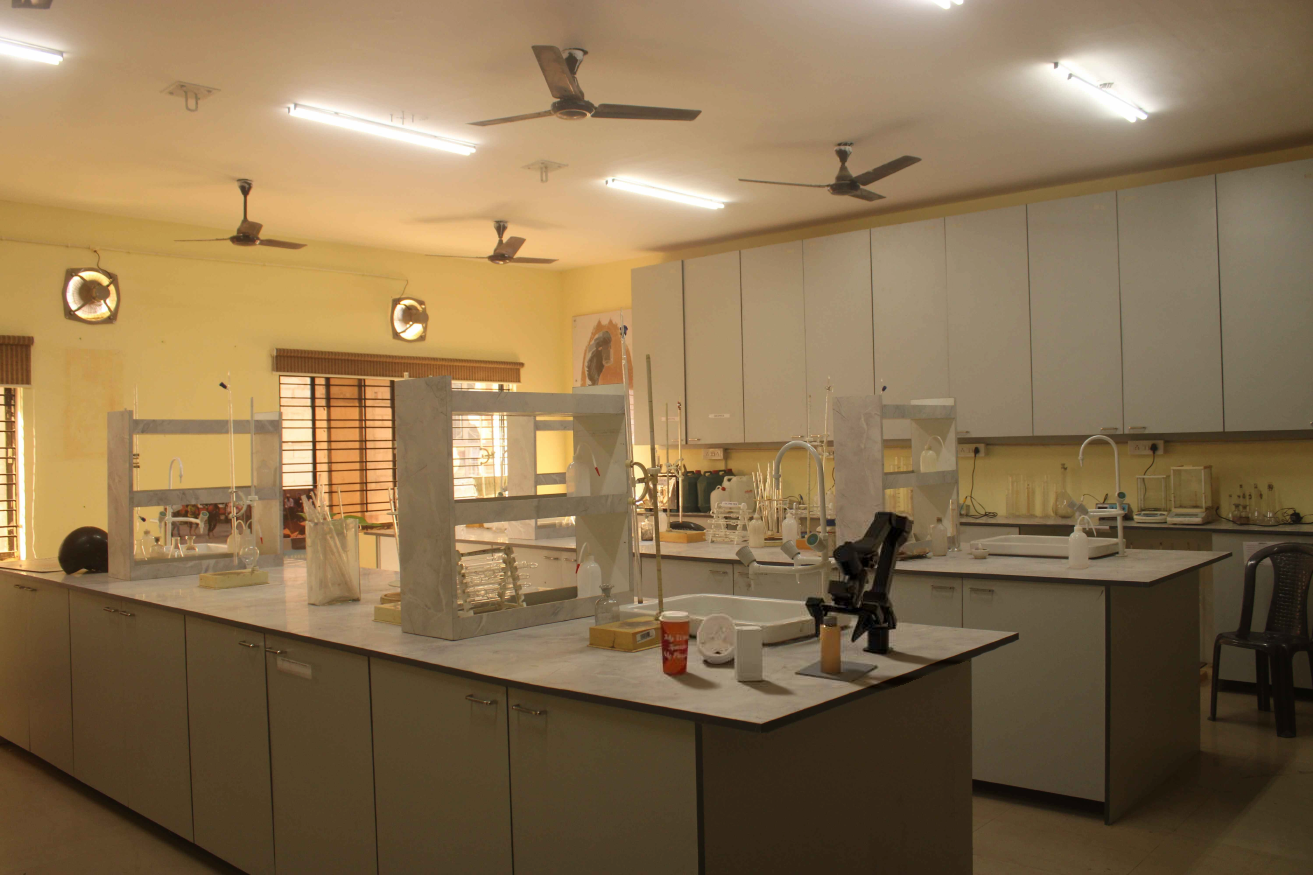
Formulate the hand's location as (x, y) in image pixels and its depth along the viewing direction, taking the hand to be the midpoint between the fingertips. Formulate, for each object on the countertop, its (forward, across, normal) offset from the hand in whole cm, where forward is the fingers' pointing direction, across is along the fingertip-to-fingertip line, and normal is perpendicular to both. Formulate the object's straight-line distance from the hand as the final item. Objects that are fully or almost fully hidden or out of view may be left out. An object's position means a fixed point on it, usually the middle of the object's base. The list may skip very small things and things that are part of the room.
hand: (834, 639), depth 230 cm
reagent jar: (+7, 0, +4) cm, 8 cm away
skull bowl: (+9, -30, +2) cm, 31 cm away
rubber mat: (+4, 0, +7) cm, 8 cm away
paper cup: (+21, -31, -10) cm, 39 cm away
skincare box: (+19, -13, -8) cm, 24 cm away
